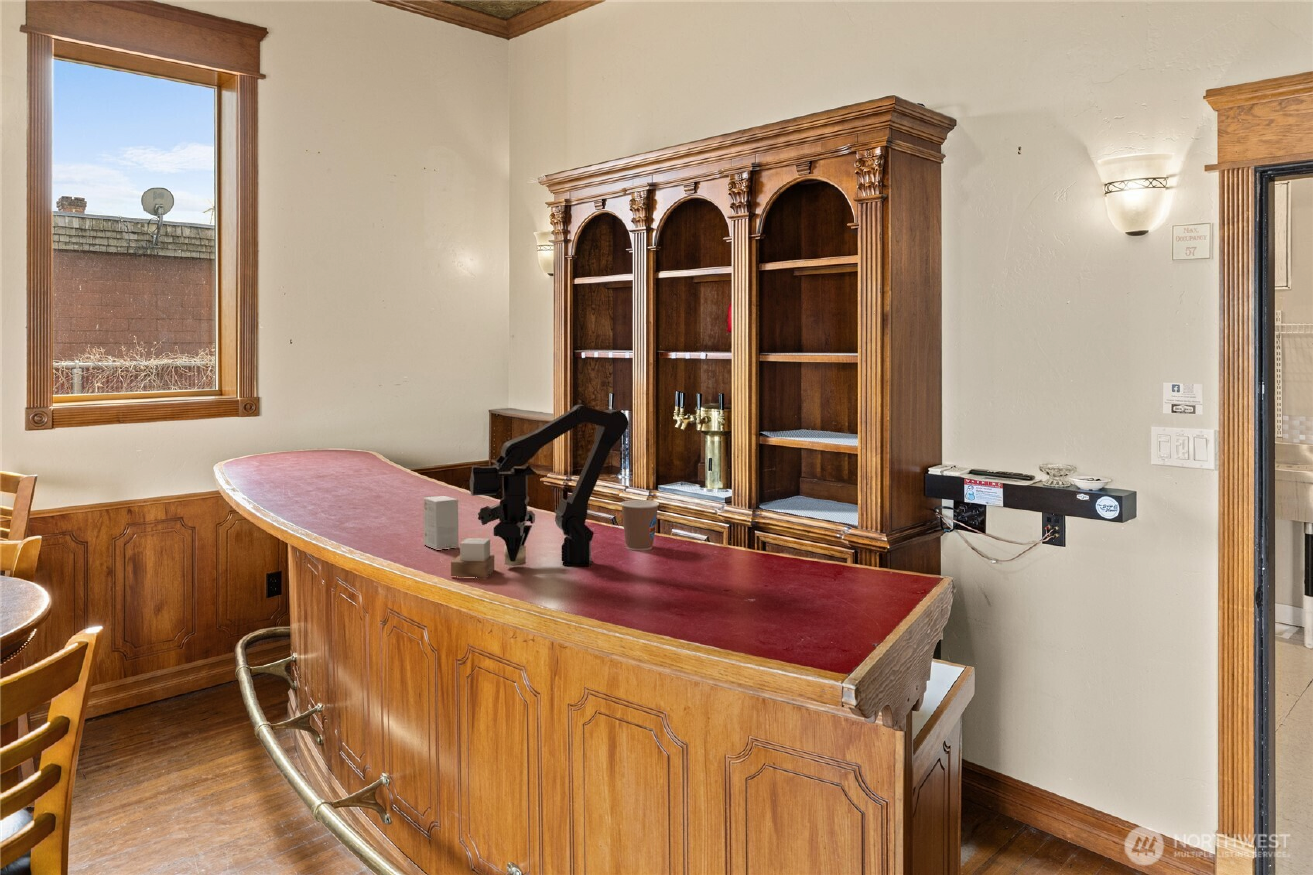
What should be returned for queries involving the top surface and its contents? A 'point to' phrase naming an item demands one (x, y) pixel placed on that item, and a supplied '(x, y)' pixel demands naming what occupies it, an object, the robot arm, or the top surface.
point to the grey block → (474, 549)
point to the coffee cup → (639, 523)
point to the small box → (441, 522)
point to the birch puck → (520, 557)
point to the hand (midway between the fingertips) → (515, 558)
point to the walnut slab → (472, 567)
